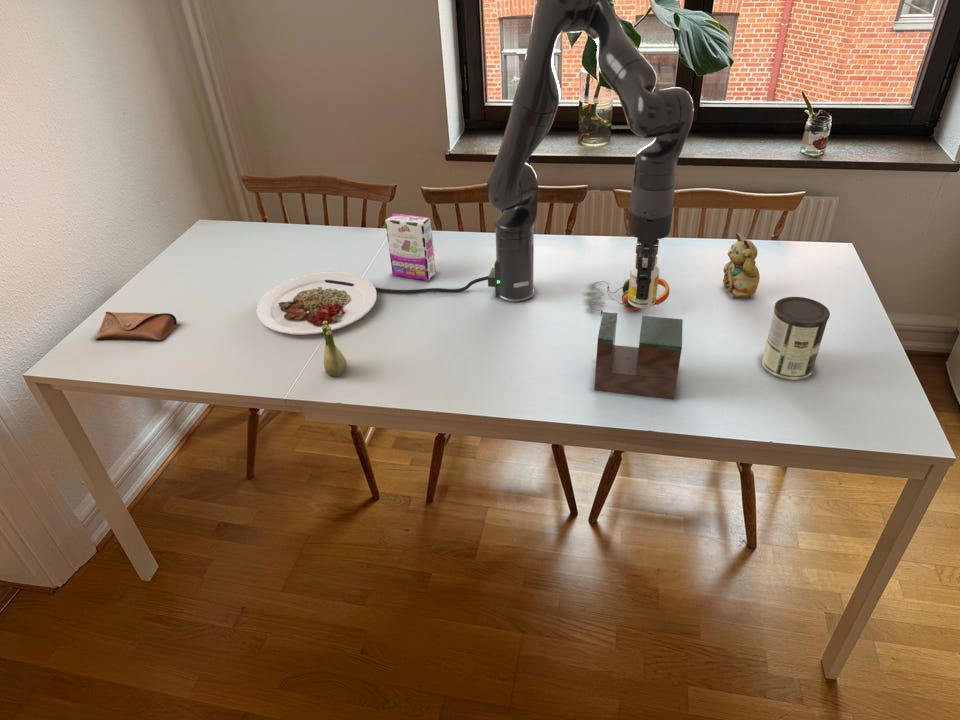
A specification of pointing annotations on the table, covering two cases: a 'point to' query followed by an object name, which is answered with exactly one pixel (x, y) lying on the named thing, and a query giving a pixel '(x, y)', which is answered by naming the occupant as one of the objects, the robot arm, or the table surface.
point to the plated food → (316, 303)
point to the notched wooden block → (639, 358)
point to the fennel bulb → (332, 354)
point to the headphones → (625, 295)
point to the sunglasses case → (136, 326)
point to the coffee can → (794, 337)
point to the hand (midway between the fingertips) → (642, 290)
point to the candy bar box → (411, 246)
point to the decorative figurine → (741, 269)
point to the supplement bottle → (652, 288)
